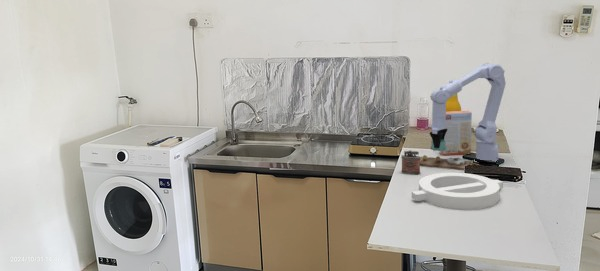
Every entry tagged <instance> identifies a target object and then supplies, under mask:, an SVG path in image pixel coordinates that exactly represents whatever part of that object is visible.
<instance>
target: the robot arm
mask: <svg viewBox="0 0 600 271" xmlns="http://www.w3.org/2000/svg"><path fill="white" fill-rule="evenodd" d="M505 78H506V77H505V69H504V68H503V67H502V65H500V64H493V63H488V62H487V63H483V64H482V65H479V66H477V67H475V69H473V70H472V71H471V72H469V73H467V74H466V75H464V76H463V77H462V78H460V79H458V80H457V79H453V80H449V82H448V83H447V84H445V85H443V86H440V87H439V89H437V88H436V89H435V90H433V91H432V93H431V95H429V96H430V100H431V101H432V112H431V114H432V116H431V117H432V118H431V121H432V122H431V123H432V124H431V125H429V128H431V129H432V131H430V132H429V136H430V137H431V139H432V140H433V145H434V148H439V147H440V142H441V139H443V140H444V137H445V134H446V132H447V130H448V129H445V128H446V102H447V100H448V98H450V97H452V96H453V95H455V94H457V95H458V94H459V93H460V92H461V91H462V90H463V87H465V86H467V85H469V84H471V83H472V82H474V81H476V80H478V79H485V80H487V82H488V83H489V85H491V86H490V89H489V95H488V98H487V102H486V105H485V109H484V112H483V113H484V114H483V116H482V119H481V120H480V121H479V122H478V125H477V126H476V128H475V129H474V132H473V133H474V137H475V138H476V146H475V147H476V148H475V149H476V150H475V151H476V152H475V158H477V159H480V160H492V161H495V162H496V161H497V160H498V161H499V157H500V156H499V153H500V152H499V147H500V145H499V142H495V141H496V140H497V129H498V127H497V124H496V120H497V117H498V113H499V110H500V106H501V102H502V98H503V96H504V91H505V88H506V79H505ZM432 140H431V141H432ZM498 161H497V162H498ZM473 162H474V163H478V162H477V161H475V159H474V160H473Z"/></svg>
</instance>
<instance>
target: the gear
mask: <svg viewBox="0 0 600 271" xmlns="http://www.w3.org/2000/svg"><path fill="white" fill-rule="evenodd" d="M445 143H446V141H445V140H443V139H441V142H440V147H439V148H434V145H433V140H431V146H430V150H432V151H433V152H435V151H437V152H440V151H444V150H445V149H446V146H445Z"/></svg>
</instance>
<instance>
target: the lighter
mask: <svg viewBox="0 0 600 271" xmlns="http://www.w3.org/2000/svg"><path fill="white" fill-rule="evenodd" d="M403 153H404V154H402V155H401V172H400V173H401V174H404V175H406V174H407V175H421V166H420V157H421V156H420V155H419V154H420V152H419V151H417V150H413V151H412V149H410V150H404V152H403Z"/></svg>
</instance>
